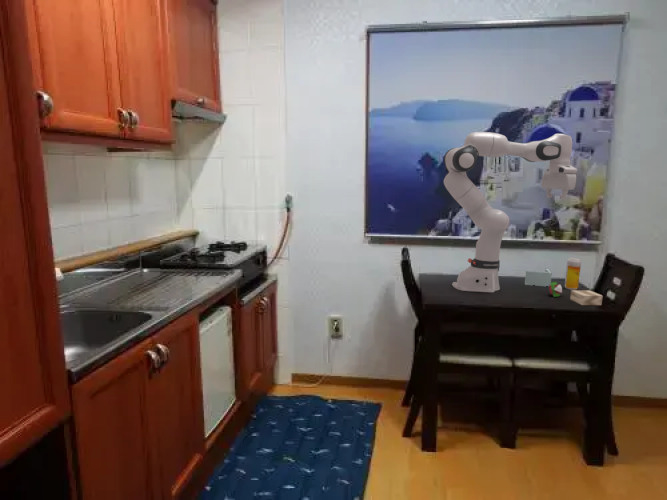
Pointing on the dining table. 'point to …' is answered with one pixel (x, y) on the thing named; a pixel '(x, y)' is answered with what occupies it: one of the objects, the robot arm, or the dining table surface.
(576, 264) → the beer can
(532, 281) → the right angle wall
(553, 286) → the geometric puzzle
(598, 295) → the oak base block
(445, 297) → the dining table surface
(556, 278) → the dining table surface
